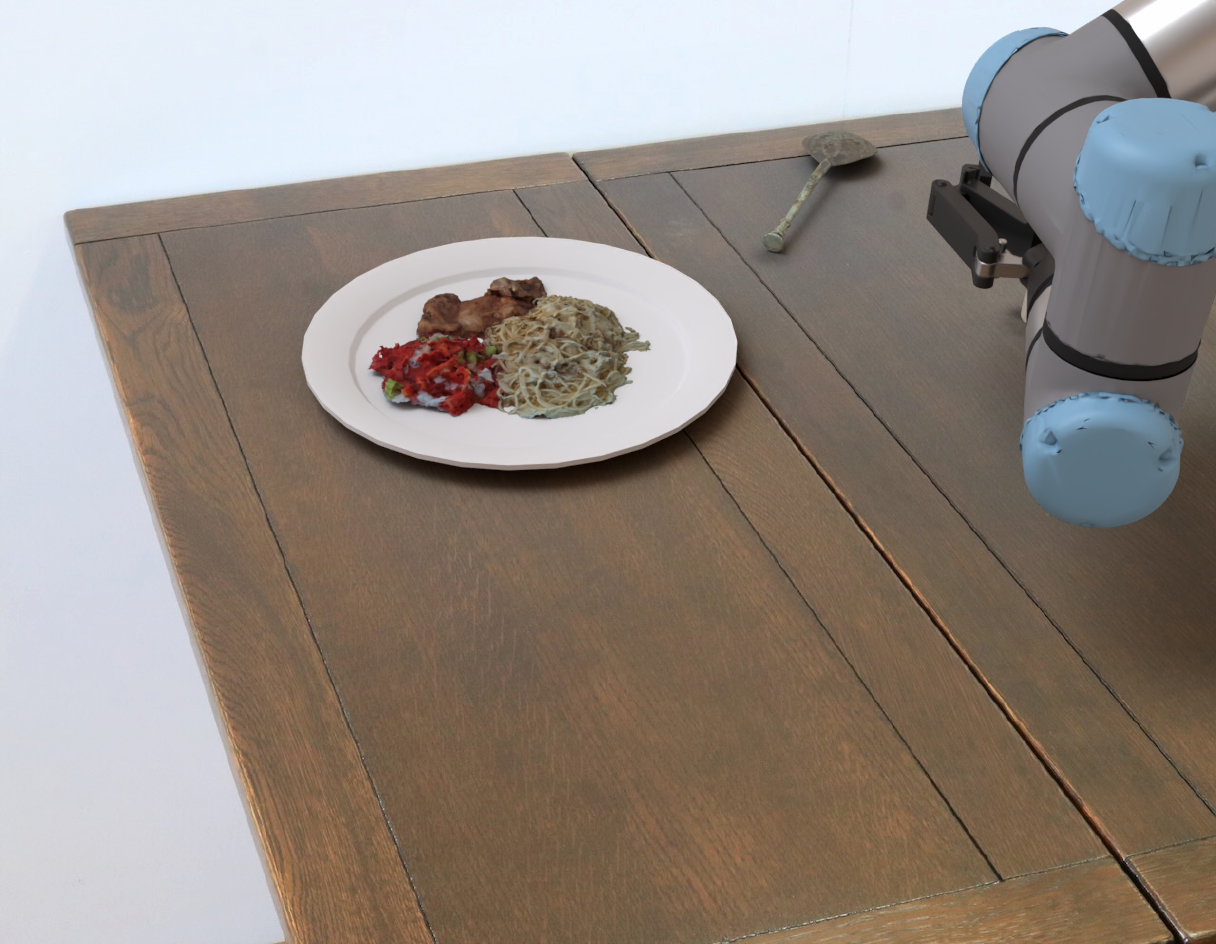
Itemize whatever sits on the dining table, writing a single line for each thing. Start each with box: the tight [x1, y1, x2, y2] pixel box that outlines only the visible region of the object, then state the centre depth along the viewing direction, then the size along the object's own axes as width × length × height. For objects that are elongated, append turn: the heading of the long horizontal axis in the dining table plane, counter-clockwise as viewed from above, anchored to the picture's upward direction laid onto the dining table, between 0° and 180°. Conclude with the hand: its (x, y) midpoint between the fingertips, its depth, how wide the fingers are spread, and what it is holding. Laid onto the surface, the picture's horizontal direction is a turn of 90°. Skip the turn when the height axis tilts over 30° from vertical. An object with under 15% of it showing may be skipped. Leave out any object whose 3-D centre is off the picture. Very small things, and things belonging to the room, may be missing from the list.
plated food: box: [301, 236, 738, 471], centre depth 103 cm, size 30×30×3 cm
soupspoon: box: [762, 129, 879, 253], centre depth 124 cm, size 22×3×7 cm
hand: (1089, 164), depth 100 cm, fingers open, 13 cm apart
